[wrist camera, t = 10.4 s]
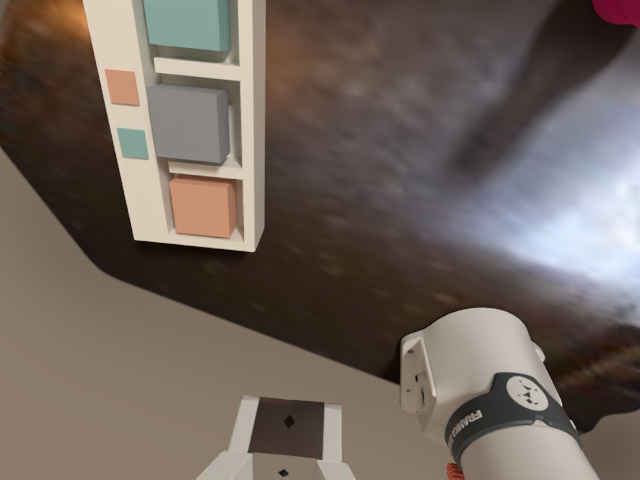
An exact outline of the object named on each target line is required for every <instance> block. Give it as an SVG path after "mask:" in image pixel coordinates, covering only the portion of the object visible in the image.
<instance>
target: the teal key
mask: <svg viewBox="0 0 640 480" xmlns="http://www.w3.org/2000/svg"><path fill="white" fill-rule="evenodd" d="M143 1H144V8H145V15H146V22H147V29H148V36H149V43H150V44H156V45H166V46H176V47H185V48H195V49H205V50H214V51H225V50H231V33H230V7H229V0H143Z"/></svg>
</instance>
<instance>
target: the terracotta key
mask: <svg viewBox="0 0 640 480" xmlns="http://www.w3.org/2000/svg"><path fill="white" fill-rule="evenodd" d="M169 183H170V190H171V197H172V204H173V211H174V218H175V225H176V232H177V233H186V234H196V235H205V236H215V237H225V238H230V237H231V235H232V233H233V231H234V229H235V228H236V226H237V224H238V218H237V192H236V179H230V178H221V177H211V176H201V175H191V174H181V173H180V174H178V175H177V176H176V177H175V178H174V179H173V180H171V181H170V182H169Z"/></svg>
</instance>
